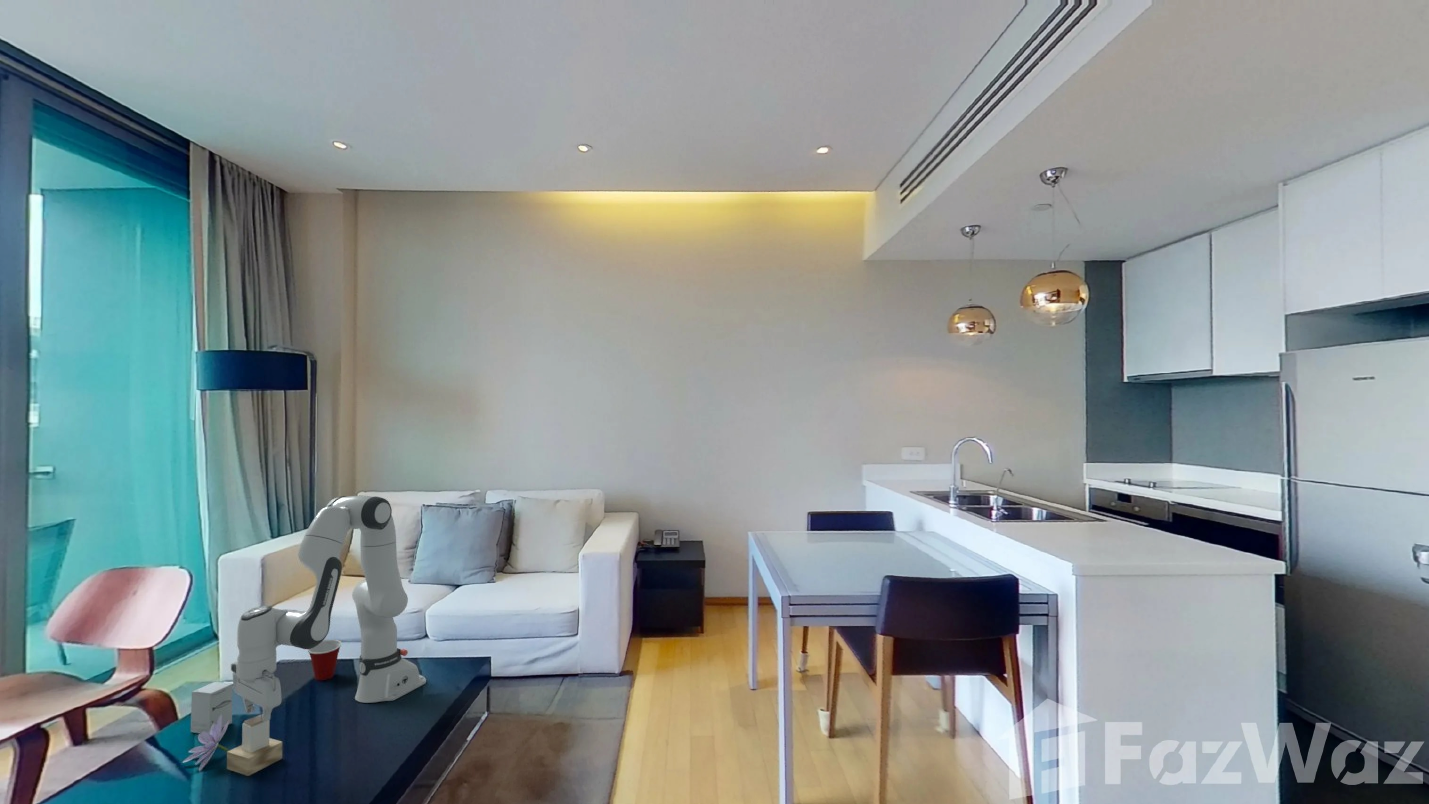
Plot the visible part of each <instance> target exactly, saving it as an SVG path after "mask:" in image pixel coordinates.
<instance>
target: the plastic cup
mask: <svg viewBox="0 0 1429 804" xmlns="http://www.w3.org/2000/svg"><path fill="white" fill-rule="evenodd" d="M342 642H343V641H341V640H339V639H327V640H325V639H324V640H323V641H322V642H321V643H320V644H318V645H317V646H316V647H314V648H311V649H307V653H308V654H309V655H310V656H309V657H310V660H311V665H312V669H313V670H312V671H313V674H314V675H313V676H314V679H315V680H316V681H325V680H329V679H332V678H333V677H334V675H335V670H336V667H337V662H338V656H339V652H340V648H341V646H342V644H343V643H342Z"/></svg>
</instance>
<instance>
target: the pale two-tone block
mask: <svg viewBox="0 0 1429 804" xmlns="http://www.w3.org/2000/svg"><path fill="white" fill-rule="evenodd" d="M270 720H271V719H270ZM270 720H268V721H265V722H263V721H262V720H261V714H258V715H257V716H253V717H251V718H248V719H246V720H244V721H243V723H242V728H241V729H242V730H241V732H242V733H241V737H242V739H241V741H242V742H241V745H242V749H244V750H246V751H247V752H249V753H252V752H254V751H257V750H259V749H261V748H264V747H266V746H268V745H269V738H270Z"/></svg>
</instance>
